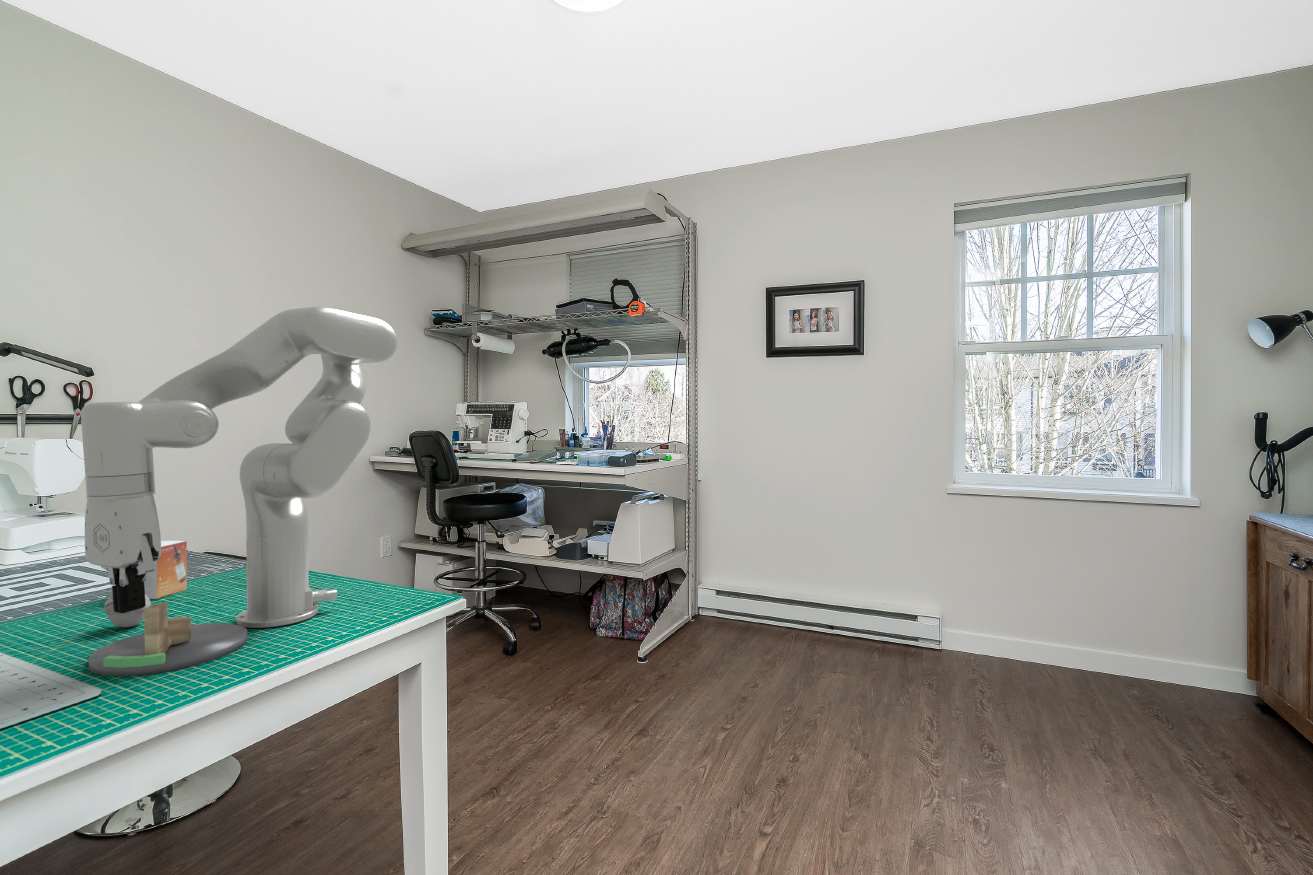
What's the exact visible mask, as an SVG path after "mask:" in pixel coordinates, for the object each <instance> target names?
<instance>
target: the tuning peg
mask: <svg viewBox="0 0 1313 875" xmlns="http://www.w3.org/2000/svg"><path fill="white" fill-rule="evenodd" d="M143 621H144V633H145V655H151V654H160V653H164V652H165V651H167V650H168V647H170V646H171V645H174V644H179V643H182V642H185V641H188V640H189V639H191V625H192V618H191V617H189V616H176V617H175V616H174V617H169V618H168V602H158V603H153V604H151V605H150V606H149V608H147V609H146V610H144V620H143Z"/></svg>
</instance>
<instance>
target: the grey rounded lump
mask: <svg viewBox="0 0 1313 875" xmlns="http://www.w3.org/2000/svg"><path fill="white" fill-rule="evenodd" d="M109 594H110V596H109V597H108V598H107V601H105V602H104V607H103V612H104V614H106V616H107V619H108V620H109V621H110V622H111V623H112V624H113V625H114V626H116V627H119V628H123V629H124V628H126V629H127V628H132V627H135V626H137V625H138V624H141V623H142V622H143V621H144V610H146V609H147V608H149V607H150V606H152V604H151V599H149V598H148V597H147V596H146V595H145V603H146V605H145V607H144V608H141V609H137V610H133V611H130V612H126V613H118V612H114V608H113V594H112V591H111V592H110V593H109Z"/></svg>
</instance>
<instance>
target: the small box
mask: <svg viewBox="0 0 1313 875" xmlns="http://www.w3.org/2000/svg"><path fill="white" fill-rule="evenodd" d="M187 543H188V542H187V540H161V556H160V558H159V559H158V560H156V561H153V563H154V567H155V570H154V571H153V572H149V573H146V581H144V588H145V595H146V596H147V597H148V598H149V600H158V599H161V598H164V597H167V596H170V595H173V594H177V593H180V592H184V591H187V589H188V581H187V580H188V579H187V578H188V577H187V575H188V572H187V571H188V570H187V569H188V567H187V565H188V560H187V558H188V555H187V554H188V553H187V552H188V548H187V546H188V545H187ZM136 561H138V560H136Z"/></svg>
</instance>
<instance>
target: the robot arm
mask: <svg viewBox="0 0 1313 875" xmlns="http://www.w3.org/2000/svg"><path fill="white" fill-rule="evenodd" d="M397 347H398V338H397V334H396V332H395V330H394V329H393V328H392V326H391V325H390V324H389V323H387V322H386V321H385V320H382V319H380V318H377V317H374V316H368V315H363V314H360V313H359V314H358V313H354V312H350V311H345V310H341V309H338V308H337V309H336V308H330V307H327V306H326V307H325V306H308V307H301V308H300V307H299V308H292V309H291V308H290V309H286V310H283V311H280V312H279V313H277V314H275V315H273V316H272V317H270V318H269V319H268V320H266V321H265V322H263V323H262V324H260V326H258V327H256V328H255V329H254V330H252V331H251V332H250V333H248V334H247V335H246V336H244V337H243V338H241V339H240V340H238V341H237V342H236V343H234V344H232V346H230V347H228V349H226V350H224V351H222V352H220V353H218V354H216V355H215V356H212V357H210V358H208V359H207V360H204V361H203V362H201V363H199V364H198V365H195V366H194V367H192V368H190V369H188V370H186V371H184V372H182V373H180V374H178V375H176V376H174V377H173V378H171V379H170V380H168V381H166V382H165V383H163V384H161V385H160V386H159V387H157V388H155V390H153V391H152V392H150V393H148V394H147V395H146V396H145V397H143V398H142V399H140V400H139V401H138V402H136V401H98V402H96V401H95V402H91V403H87V404H86V405H84V406H83V407H82V409H81V412H80V422H81V423H80V424H81V438H82V448H83V449H82V450H83V461H84V462H83V464H84V474H85V476H84V477H85V479H84V480H85V492H86V500H87V501H86V506H85V513H84V514H85V516H84V555H85V561H86V562H87V563H89V564H90V565H95V566H100V567H101V568H102V569H103V570H105V571H106V572H107V574H108V581H109V583H110V585H111V592H112V594H113V608H114V612H118V613H126V612H130V611H133V610H137V609H141V608H144V607H145V605H146V603H145V588H144V581H146V573H149V572H153V571H154V570H155V567H154V563H153V561H156V560H158V559H159V558H160V556H161V541H162V540H161V538H162V537H161V528H160V523H159V521H160V520H159V514H158V509H157V505H156V500H155V496H154V495H155V494H156V484H155V468H154V465H155V464H154V452H153V450H154V449H155V448H165V449H166V448H168V449H169V448H170V449H192V448H198V447H201V446H203V445H204V444H205V445H206V444H207V443H209V442H210V441H211V440H212V439H213V438H214V437H215V436H216V434H217V433H218V430H219V418H218V416H217V414H216V413H215V411H214V409H215V408H217V407H219V406H222V405H224V404H226V403H228V402H233V401H235V400H239V399H242V398H245V397H249V396H252V395H254V394H257V393H260V392H263V391H264V390H266V389H268V388H269V387H270V386H272V385H273V384H274V383H276V382H277V380H279V379H280V378H281V377H282V376H283V375H285V374H286V373H287V372H288V371H289V370H291V369H292V368H293V367H294V366H296V365H297V364H298V363H300V362H301V361H302V360H304V359H305V358H307V357H308V356H310V355H320V358H321V362H322V373H321V377H320V379H319V380H318V381H317V383H316V384H315V385H314V387H313V388H312V389H311V390H310V391H309V392H308V394H307V395H306V396H305V397H303V399H302V400H301V402H299V404H297V406H296V407H295V409H294V410H293V411H292V412H291V413H290V415H289V416H288V418H287V419H286V422H285V427H284V432H285V436H286V439H288V441H290V443H287V442H286V443H283V442H281V443H280V442H277V443H276V442H275V443H274V442H272V443H267V444H262V445H259V446H256V447H255V448H253V449H251V450H249V452H247V454H246V455H245V456H244V458H243V459H242V461H241V463H240V466H239V480H240V486H241V487H240V488H241V491H242V496H243V500H244V501H243V502H244V506H245V507H244V508H245V523H246V525H245V526H246V528H245V529H246V534H245V536H246V545H245V546H246V547H245V548H246V610H244V611H243V610H242V612H240V613H238V614H237V615H236V621H235V622H236V625H239V626H242V627H244V628H251V629H252V628H253V629H254V628H256V629H257V628H259V629H260V628H261V629H262V628H264V629H265V628H273V627H274V628H275V627H280V626H287V625H291V624H295V623H296V624H297V623H300V622H303V621H305V620H308V619H311V618H312V617H314V616H316V615H317V614H318V613H319V605H318V604H320V602H325V601H326V602H329V601H336V600H338V590H337V589H336V588H335V589H331V590H328V589H320V590H313V589H312V588H311V587H310V586H309V515H308V511H307V507H306V503H305V501H304V499H314V498H319V497H321V496H324V495H326V494H327V493H328V492H329V491H331V490H332V489H333V488H334V487H335V486H336V484H337V483H338V482H339V481H340V479H342V477H343V476H344V475H345V473H346V472H347V470H348V469H349V467H350V466H351V465H352V464H353V462H354V461H355V459H356V458H357V457H358V455H359V454H360V452H361V451H362V450H363V448H364V447H365V446H366V444H367V441H368V439H369V438H370V437H369V436H370V433H371V429H372V428H371V418H370V415H369V413H368V412H367V410H366V409H365V407H363V406H362V405H361V404H362V401H363V400H364V397H365V394H366V383H365V378H364V373H363V369H362V365H361V364H368V363H370V364H373V363H381V362H384V361H387V360H389V359H390V358H392V357H393V355H394V354H395V352H396V351H397ZM136 560H138V561H136Z"/></svg>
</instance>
